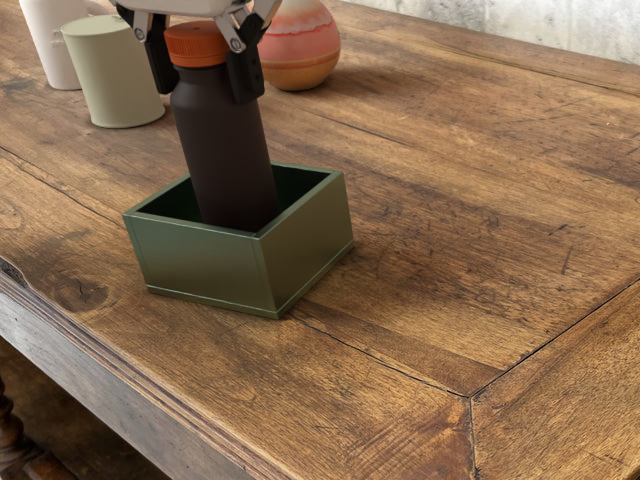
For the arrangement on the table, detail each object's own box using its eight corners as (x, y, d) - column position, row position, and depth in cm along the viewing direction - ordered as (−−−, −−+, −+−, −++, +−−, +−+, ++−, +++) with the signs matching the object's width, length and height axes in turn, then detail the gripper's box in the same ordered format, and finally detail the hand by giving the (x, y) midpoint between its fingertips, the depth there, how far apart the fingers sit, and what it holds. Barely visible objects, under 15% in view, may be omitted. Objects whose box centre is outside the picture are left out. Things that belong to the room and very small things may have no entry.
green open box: (148, 292, 72) (120, 214, 67) (237, 225, 82) (219, 152, 77) (278, 320, 68) (259, 239, 63) (355, 245, 78) (343, 170, 73)
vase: (365, 79, 117) (349, -57, 106) (297, 107, 108) (271, -37, 97) (299, 63, 123) (277, -67, 112) (229, 89, 114) (197, -49, 103)
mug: (144, 73, 120) (118, -14, 112) (65, 94, 113) (32, 3, 105) (117, 62, 124) (91, -22, 117) (40, 81, 117) (7, -7, 110)
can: (180, 111, 107) (153, 16, 100) (121, 133, 101) (89, 34, 94) (135, 99, 111) (107, 6, 104) (76, 120, 105) (42, 23, 98)
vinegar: (239, 283, 70) (177, 47, 58) (200, 256, 74) (134, 29, 62) (303, 255, 74) (258, 27, 62) (263, 231, 78) (213, 12, 65)
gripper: (2, -171, 53) (93, 98, 64) (221, -166, 48) (278, 123, 60) (84, -180, 59) (155, 69, 70) (288, -176, 54) (329, 90, 65)
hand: (211, 92), depth 65 cm, fingers closed on vinegar, 6 cm apart
